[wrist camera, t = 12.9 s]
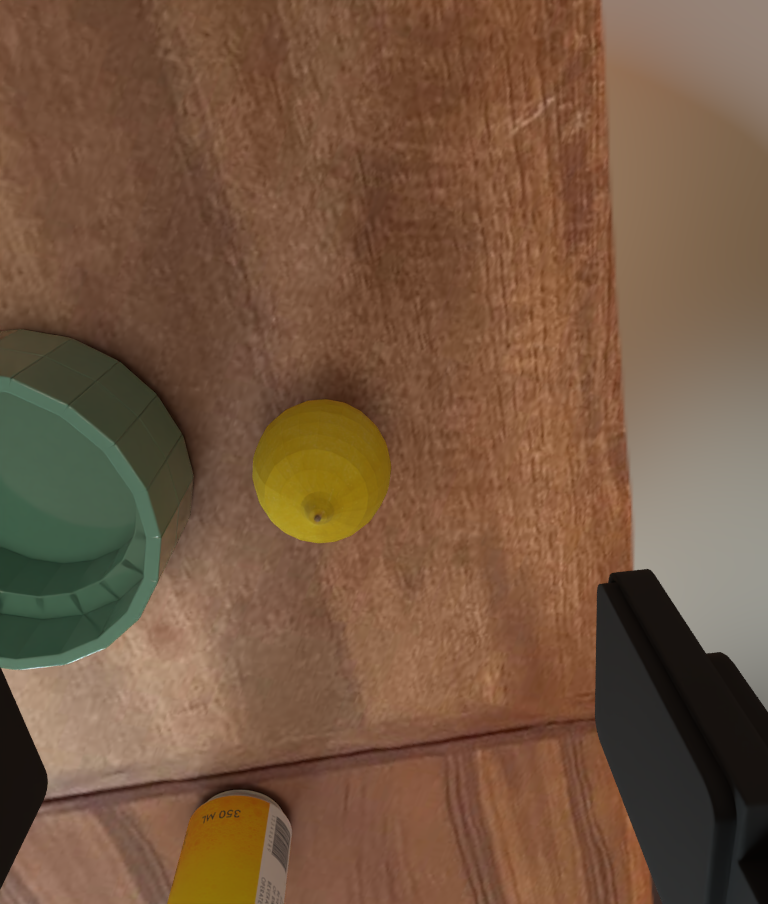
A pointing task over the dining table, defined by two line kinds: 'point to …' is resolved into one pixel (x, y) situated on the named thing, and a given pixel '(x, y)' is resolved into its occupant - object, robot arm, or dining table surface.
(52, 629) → the green pet bowl
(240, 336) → the dining table surface
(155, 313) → the dining table surface
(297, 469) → the fruit
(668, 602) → the robot arm
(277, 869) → the beer can
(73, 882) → the dining table surface
